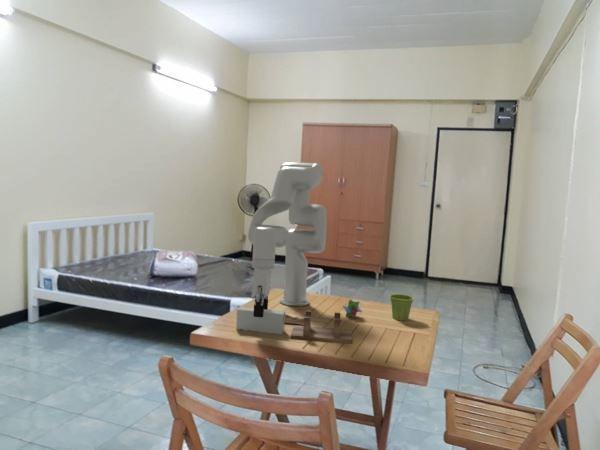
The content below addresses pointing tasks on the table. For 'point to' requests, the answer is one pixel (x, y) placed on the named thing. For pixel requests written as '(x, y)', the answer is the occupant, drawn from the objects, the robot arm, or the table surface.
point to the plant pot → (401, 306)
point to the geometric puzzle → (352, 308)
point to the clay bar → (261, 320)
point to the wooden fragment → (293, 320)
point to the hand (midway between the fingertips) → (260, 313)
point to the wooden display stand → (321, 331)
